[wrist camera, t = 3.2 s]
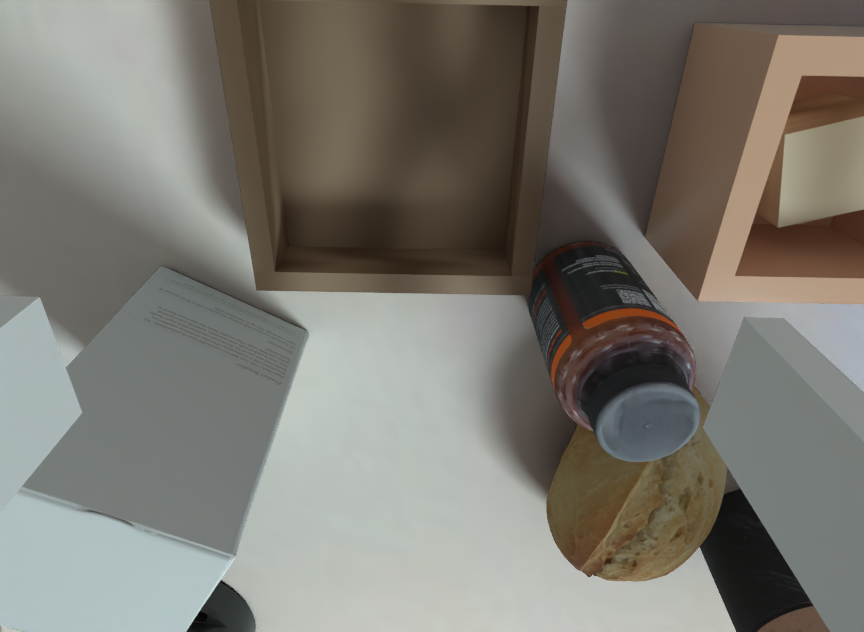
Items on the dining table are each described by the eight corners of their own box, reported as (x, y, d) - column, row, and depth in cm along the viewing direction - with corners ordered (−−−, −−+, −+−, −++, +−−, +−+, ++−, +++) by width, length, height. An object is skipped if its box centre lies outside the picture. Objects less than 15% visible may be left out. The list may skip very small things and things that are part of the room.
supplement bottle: (541, 345, 33) (586, 497, 23) (511, 259, 30) (548, 392, 20) (643, 313, 32) (736, 459, 22) (621, 220, 29) (717, 341, 19)
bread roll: (517, 515, 40) (534, 623, 34) (570, 346, 33) (607, 442, 26) (644, 527, 41) (686, 636, 34) (725, 364, 33) (801, 462, 27)
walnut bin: (274, 258, 30) (256, 290, 27) (235, -32, 23) (204, -34, 20) (520, 263, 30) (530, 295, 27) (552, -24, 23) (570, -26, 20)
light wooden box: (644, 237, 29) (697, 301, 23) (694, 22, 24) (778, 35, 18) (834, 241, 29) (934, 305, 23) (924, 27, 24) (1081, 41, 18)
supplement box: (119, 375, 34) (-73, 614, 21) (160, 260, 30) (-45, 468, 17) (259, 432, 36) (163, 678, 23) (315, 332, 32) (236, 562, 19)
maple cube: (734, 197, 27) (777, 227, 24) (736, 114, 25) (785, 134, 22) (820, 177, 27) (878, 206, 23) (830, 91, 25) (894, 109, 21)
